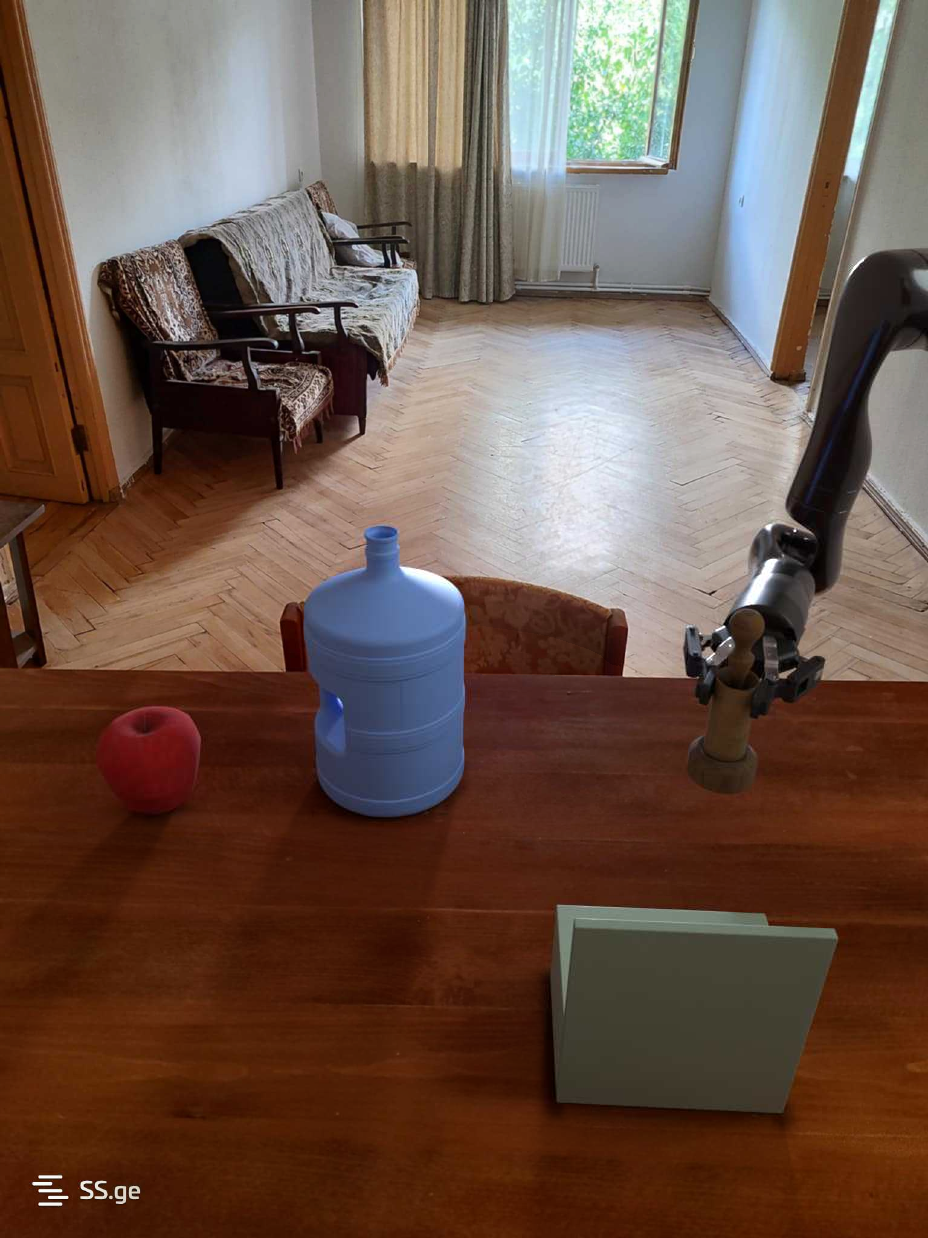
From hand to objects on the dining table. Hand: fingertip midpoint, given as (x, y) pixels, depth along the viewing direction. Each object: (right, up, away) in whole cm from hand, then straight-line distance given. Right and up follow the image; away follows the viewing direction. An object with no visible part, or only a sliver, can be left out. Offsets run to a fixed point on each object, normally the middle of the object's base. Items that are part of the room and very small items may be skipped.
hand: (729, 703), depth 79 cm
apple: (-55, -11, +11) cm, 57 cm away
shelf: (-9, -24, -11) cm, 28 cm away
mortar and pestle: (+1, -8, +7) cm, 11 cm away
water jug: (-32, -9, +15) cm, 36 cm away
